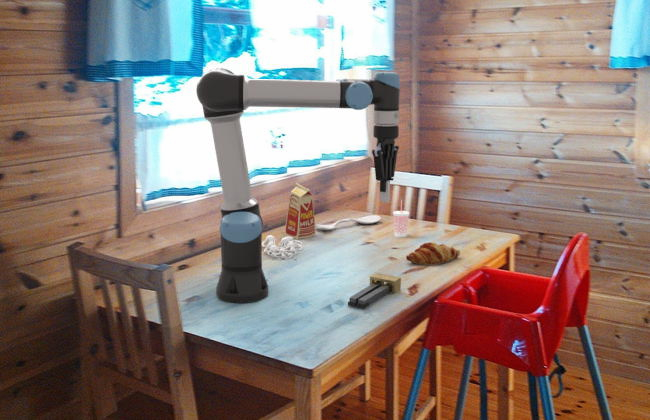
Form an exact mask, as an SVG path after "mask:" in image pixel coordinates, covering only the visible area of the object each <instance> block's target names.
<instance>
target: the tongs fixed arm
mask: <svg viewBox="0 0 650 420" xmlns="http://www.w3.org/2000/svg"><path fill="white" fill-rule="evenodd" d="M389 294H392V283H387V282H384V285H383V286H381V287H379V288H378V289H376V290H374V291H372V292H370V293H369V294H367V295H365V296H363V297H362V298H360V299H358V303H357V306H356V307H355V308H358V309H363V310H365V309H366V308H369V307H370V306H371V305H372V304H374V303H376V302H377V301H379V300H381V299H383V298H384V297H386V296H387V295H389Z"/></svg>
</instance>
